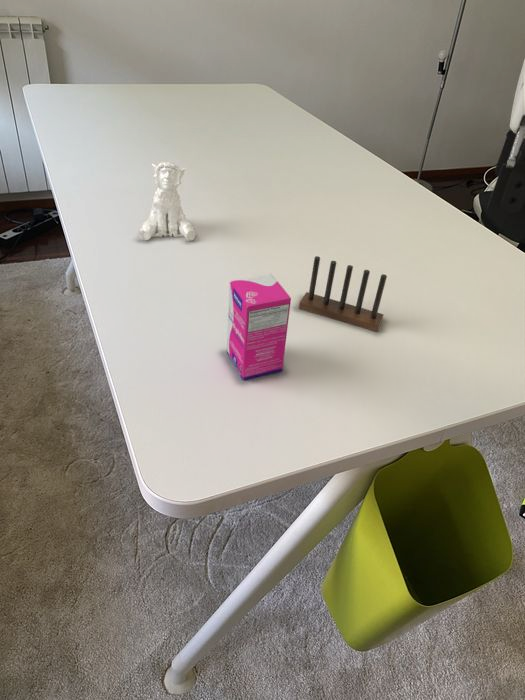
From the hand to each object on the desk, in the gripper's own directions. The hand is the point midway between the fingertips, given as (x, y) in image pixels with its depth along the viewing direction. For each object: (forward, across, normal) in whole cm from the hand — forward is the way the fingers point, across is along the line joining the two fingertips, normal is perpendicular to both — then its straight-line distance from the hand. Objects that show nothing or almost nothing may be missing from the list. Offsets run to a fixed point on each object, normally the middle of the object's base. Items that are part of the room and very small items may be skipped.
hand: (508, 196), depth 47 cm
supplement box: (+28, +1, +22) cm, 36 cm away
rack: (+28, +17, +15) cm, 36 cm away
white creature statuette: (+28, +27, +50) cm, 64 cm away
